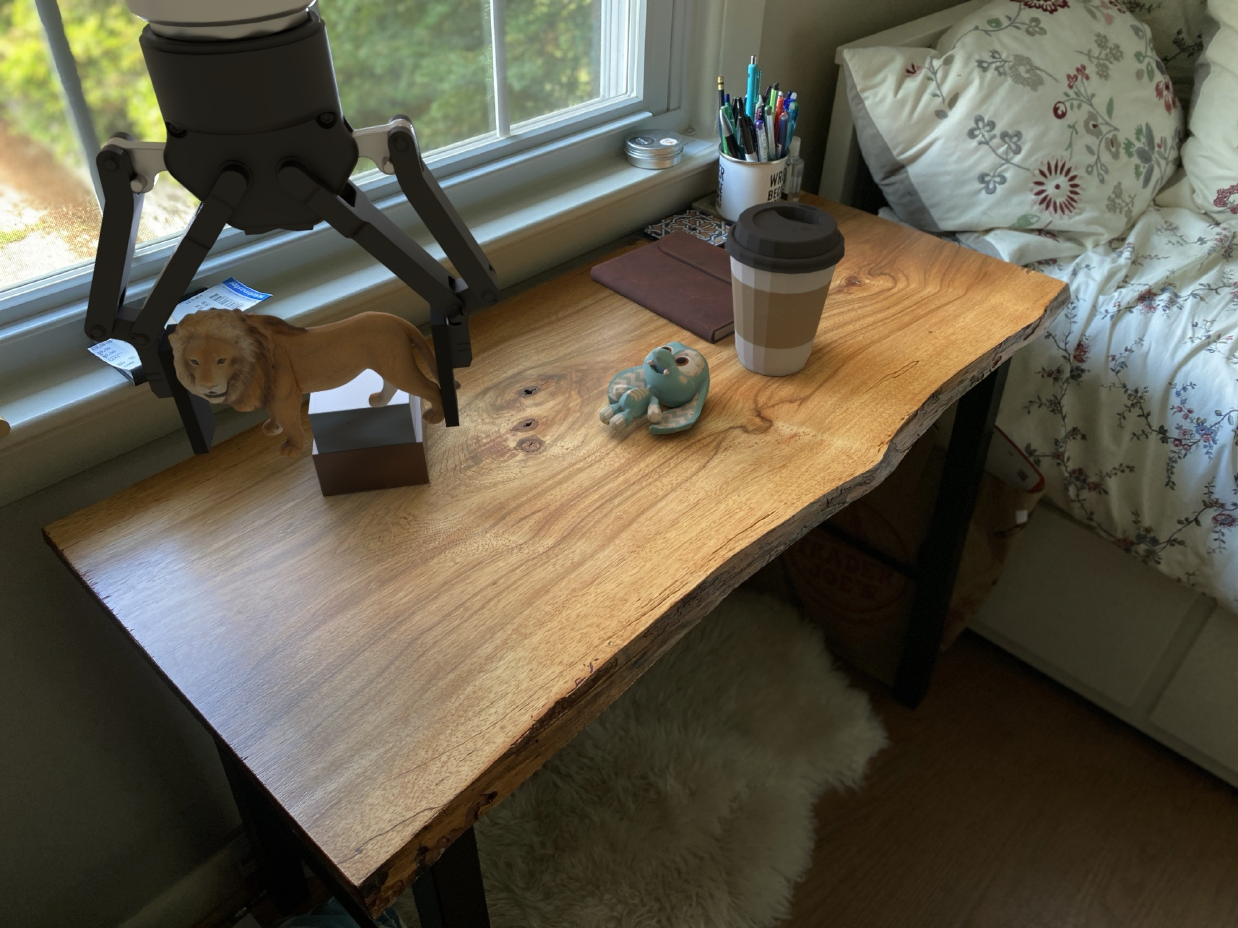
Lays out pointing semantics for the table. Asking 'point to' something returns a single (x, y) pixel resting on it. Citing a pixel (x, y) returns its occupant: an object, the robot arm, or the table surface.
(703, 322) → the notebook
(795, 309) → the coffee cup
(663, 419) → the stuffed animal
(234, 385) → the lion figurine
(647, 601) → the table surface
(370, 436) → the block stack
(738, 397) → the table surface
